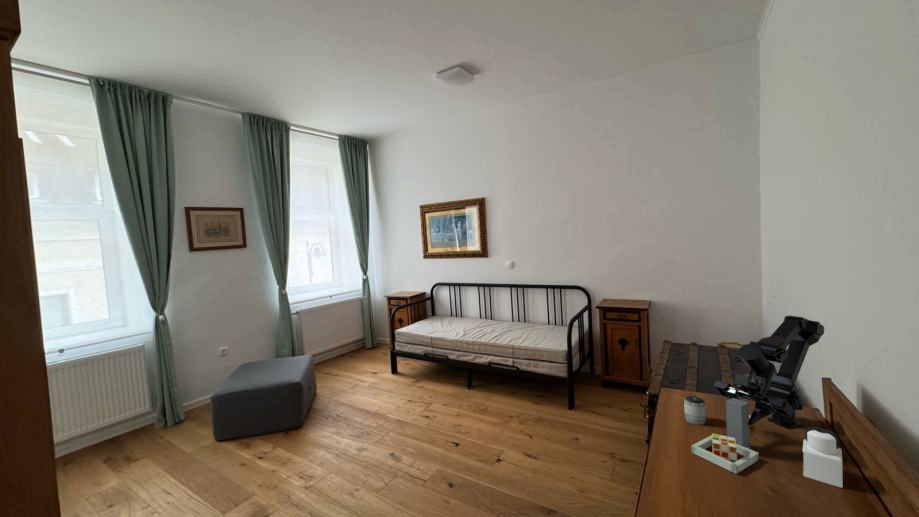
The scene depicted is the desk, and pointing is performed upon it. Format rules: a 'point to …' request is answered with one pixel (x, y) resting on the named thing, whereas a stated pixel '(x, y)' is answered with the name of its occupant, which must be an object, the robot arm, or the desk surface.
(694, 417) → the camera lens
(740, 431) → the grey block with frame
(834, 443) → the medicine bottle
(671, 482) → the desk surface
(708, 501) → the desk surface
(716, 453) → the rubik's cube
